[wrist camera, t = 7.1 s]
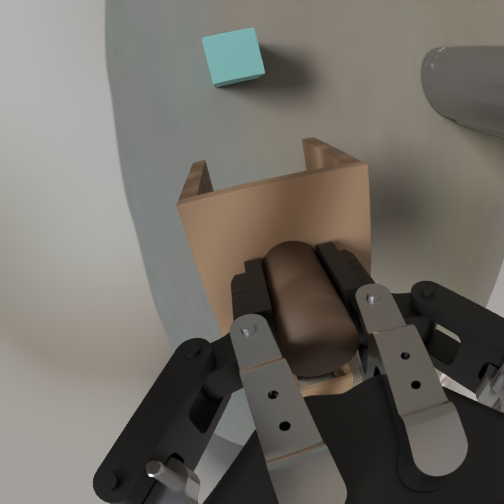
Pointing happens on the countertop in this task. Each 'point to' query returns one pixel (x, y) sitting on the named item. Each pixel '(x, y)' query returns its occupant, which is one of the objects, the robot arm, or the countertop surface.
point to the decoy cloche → (330, 383)
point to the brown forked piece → (285, 248)
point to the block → (233, 57)
